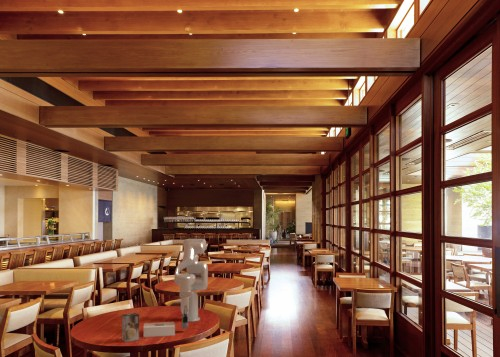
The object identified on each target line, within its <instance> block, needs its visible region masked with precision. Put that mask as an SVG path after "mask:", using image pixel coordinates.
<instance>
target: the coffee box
mask: <svg viewBox="0 0 500 357" xmlns="http://www.w3.org/2000/svg"><path fill="white" fill-rule="evenodd" d="M121 340H122V341H123V342H125V343H128V342H129V343H130V342H133V341H139V340H140V314H139V313H137V312H129V313H125V314H123V313H122V315H121Z"/></svg>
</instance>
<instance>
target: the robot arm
mask: <svg viewBox="0 0 500 357" xmlns="http://www.w3.org/2000/svg"><path fill="white" fill-rule="evenodd" d="M182 246H183V257H182V261H180V263H179V264H178V265H177V266H176V268H175V271H174V278H173V279H174V280H173V281H174V284H175V285H178V286H179V298H180V312H181V313H182V312H183V323H187V322H188V323H189V322H190V323H191V322H197V321H198V322H199V321H200V320H201V317H200V316H199V295H198V292H196V291H205V290H207V289H208V285H209V269H208V267H209V266H208V264H207V263H206V262H201V261H199V254H200V255H202V254H204V253H205V251H206V249H207V241H206V239H205V238H186V239H184V240H183V241H182ZM184 269H186V273H181V272H182V270H184ZM184 311H185V312H184ZM187 312H188V316H187Z"/></svg>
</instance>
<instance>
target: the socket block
mask: <svg viewBox="0 0 500 357" xmlns="http://www.w3.org/2000/svg"><path fill="white" fill-rule="evenodd" d="M172 336H173V337H175V336H176V323H175V321H166V322H165V321H163V322H144V323H143V338H154V337H156V338H158V337H172Z"/></svg>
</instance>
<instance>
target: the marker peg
mask: <svg viewBox="0 0 500 357" xmlns="http://www.w3.org/2000/svg"><path fill="white" fill-rule="evenodd" d="M184 312H185V311H184ZM187 316H188V312H187ZM181 328H182V329H188V328H189V322H187V323H183V312H181Z"/></svg>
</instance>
